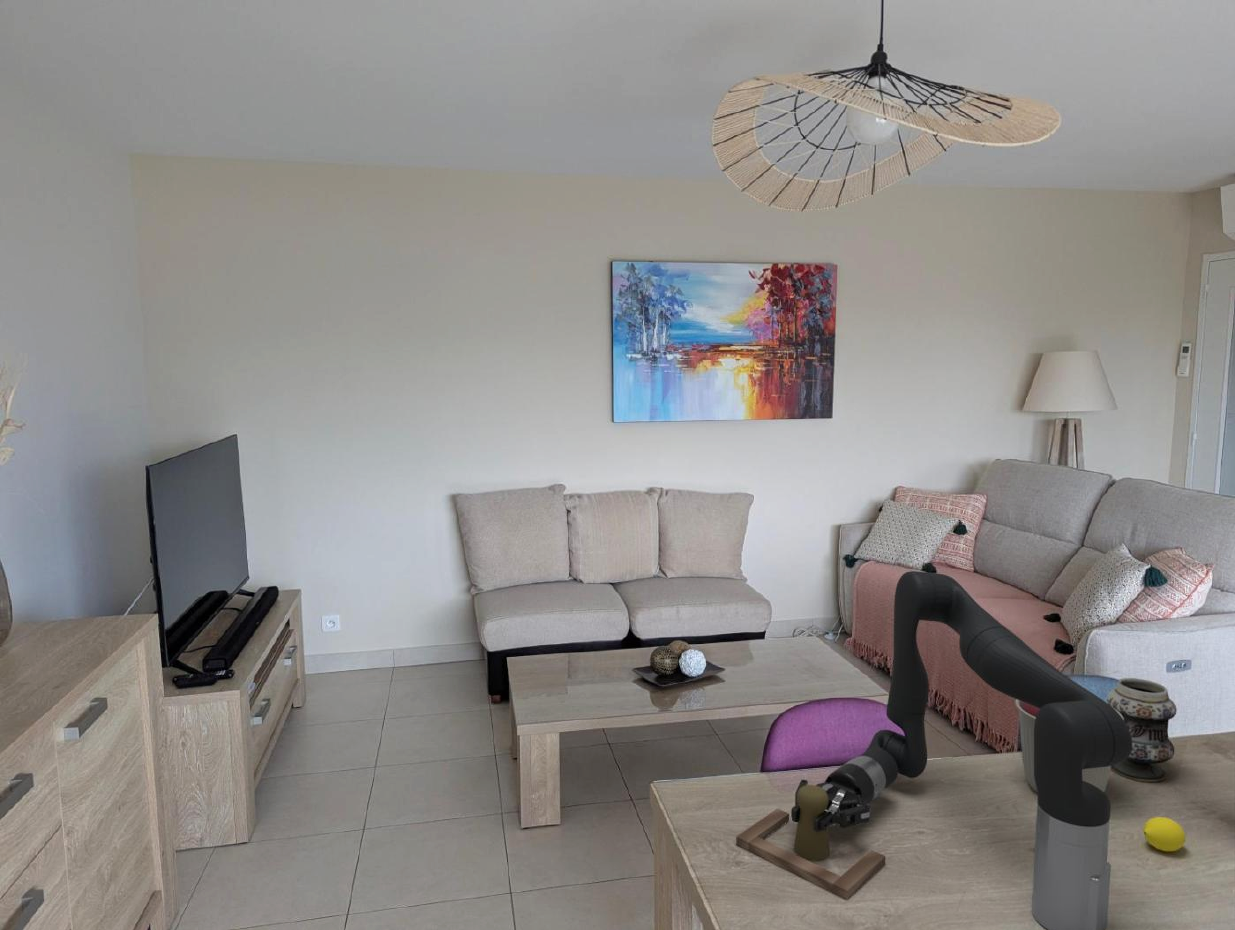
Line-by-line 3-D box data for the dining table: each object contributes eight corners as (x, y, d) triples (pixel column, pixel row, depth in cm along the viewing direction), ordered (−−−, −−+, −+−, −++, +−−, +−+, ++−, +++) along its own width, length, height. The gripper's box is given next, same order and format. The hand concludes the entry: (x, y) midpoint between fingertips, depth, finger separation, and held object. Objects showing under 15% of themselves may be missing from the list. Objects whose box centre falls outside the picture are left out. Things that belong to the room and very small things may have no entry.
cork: (830, 862, 134) (832, 800, 133) (793, 858, 135) (794, 796, 134) (829, 841, 140) (830, 781, 139) (793, 838, 141) (794, 778, 140)
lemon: (1167, 841, 140) (1174, 812, 140) (1192, 860, 135) (1198, 829, 134) (1130, 838, 140) (1136, 809, 139) (1153, 857, 134) (1159, 826, 134)
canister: (1023, 809, 150) (1029, 700, 147) (1002, 764, 167) (1007, 665, 165) (1133, 822, 146) (1141, 709, 143) (1099, 773, 163) (1106, 672, 161)
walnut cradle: (885, 864, 133) (885, 856, 133) (846, 899, 125) (847, 890, 125) (777, 816, 148) (777, 808, 148) (736, 844, 139) (736, 836, 139)
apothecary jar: (1171, 765, 166) (1177, 681, 164) (1173, 791, 156) (1180, 701, 154) (1102, 751, 172) (1107, 669, 170) (1100, 775, 162) (1106, 689, 160)
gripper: (822, 751, 151) (769, 785, 139) (893, 777, 141) (843, 816, 129) (821, 789, 152) (768, 826, 140) (892, 818, 142) (842, 860, 130)
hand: (804, 821), depth 135 cm, fingers closed on cork, 3 cm apart
